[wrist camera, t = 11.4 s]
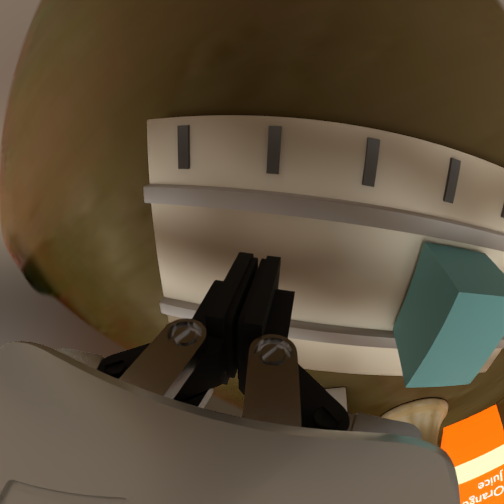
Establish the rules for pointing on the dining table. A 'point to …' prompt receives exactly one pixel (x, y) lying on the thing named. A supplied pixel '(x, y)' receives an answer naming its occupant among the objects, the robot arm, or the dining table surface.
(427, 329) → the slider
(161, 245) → the count board
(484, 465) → the orange juice
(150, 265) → the dining table surface
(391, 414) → the hand bell
